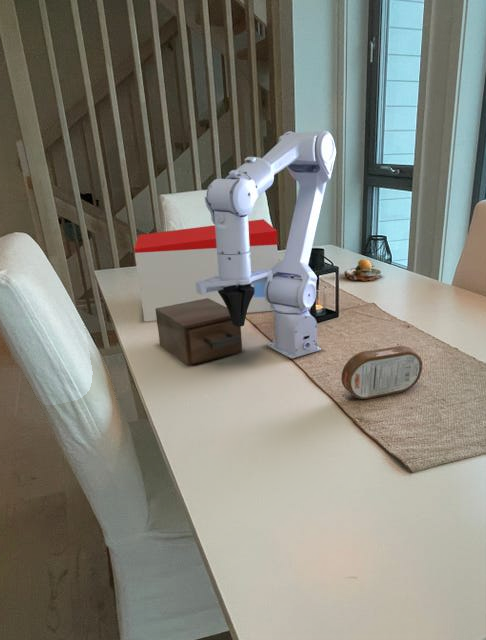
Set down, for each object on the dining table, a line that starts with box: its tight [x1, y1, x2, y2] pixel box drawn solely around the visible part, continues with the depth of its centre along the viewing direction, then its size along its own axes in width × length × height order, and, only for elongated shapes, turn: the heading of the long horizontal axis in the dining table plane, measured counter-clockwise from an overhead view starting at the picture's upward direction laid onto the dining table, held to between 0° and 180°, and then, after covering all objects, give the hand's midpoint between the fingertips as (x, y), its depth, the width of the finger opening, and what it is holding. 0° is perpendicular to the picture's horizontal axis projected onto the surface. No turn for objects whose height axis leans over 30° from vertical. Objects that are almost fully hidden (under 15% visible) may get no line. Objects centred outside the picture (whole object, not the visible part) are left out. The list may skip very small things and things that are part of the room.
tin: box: [340, 345, 423, 400], centre depth 89 cm, size 15×3×8 cm, turn 111°
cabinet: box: [155, 298, 243, 367], centre depth 110 cm, size 15×13×9 cm
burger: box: [343, 256, 382, 282], centre depth 166 cm, size 12×12×8 cm
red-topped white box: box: [133, 218, 279, 323], centre depth 138 cm, size 21×35×21 cm, turn 104°
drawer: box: [187, 319, 243, 363], centre depth 107 cm, size 18×11×7 cm, turn 37°
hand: (238, 325), depth 94 cm, fingers closed
